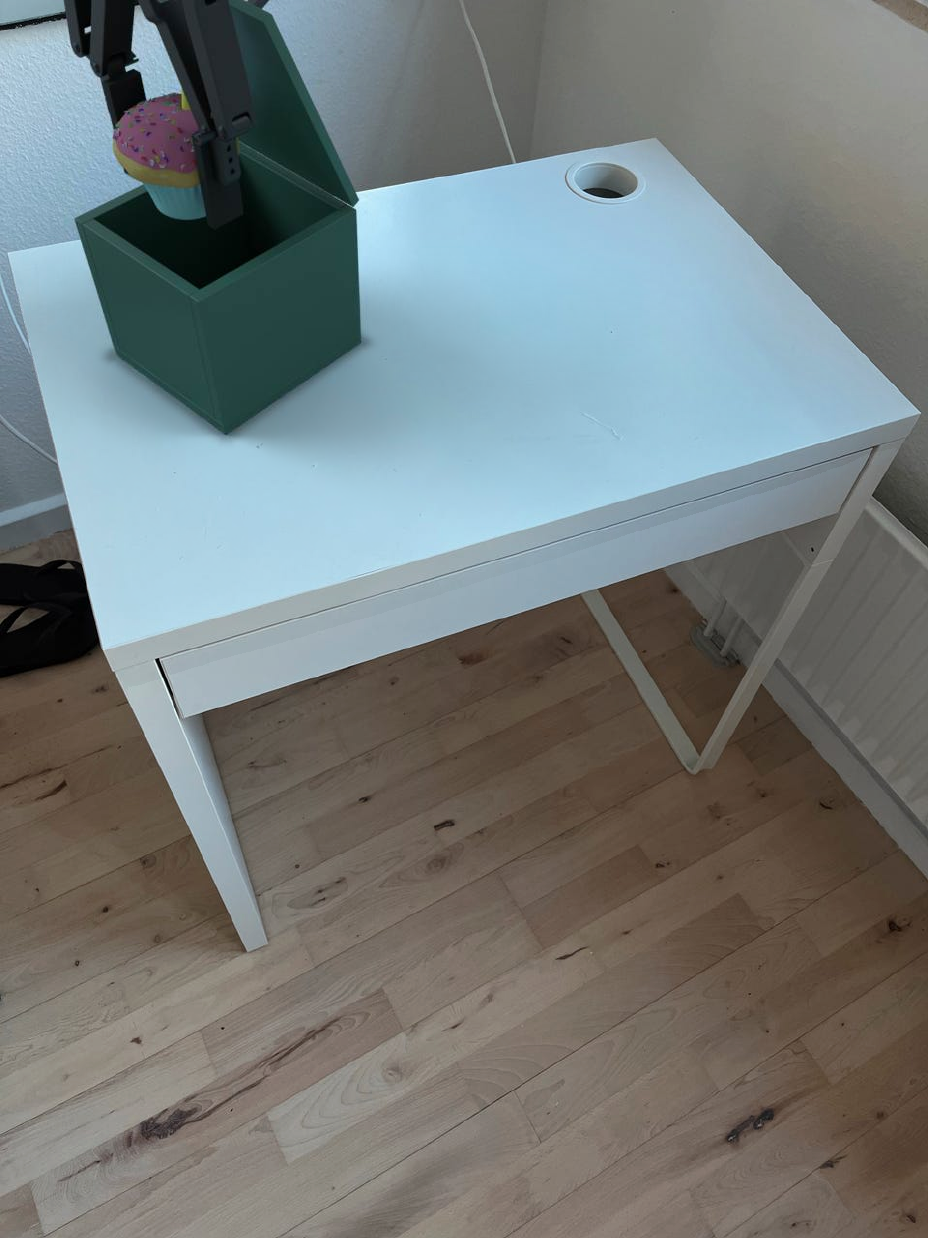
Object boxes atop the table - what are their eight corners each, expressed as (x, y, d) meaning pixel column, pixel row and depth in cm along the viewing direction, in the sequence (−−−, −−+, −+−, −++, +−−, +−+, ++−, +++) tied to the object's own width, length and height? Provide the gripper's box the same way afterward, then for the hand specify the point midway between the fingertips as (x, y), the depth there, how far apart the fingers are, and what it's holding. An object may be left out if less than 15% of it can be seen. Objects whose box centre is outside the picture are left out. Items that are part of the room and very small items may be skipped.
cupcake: (236, 164, 72) (210, -10, 62) (257, 228, 68) (234, 53, 58) (121, 177, 70) (76, 1, 60) (136, 244, 66) (90, 66, 56)
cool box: (225, 435, 77) (198, 301, 66) (116, 355, 81) (73, 217, 71) (361, 342, 84) (356, 209, 73) (254, 273, 89) (234, 138, 78)
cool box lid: (263, 23, 57) (350, -79, 58) (116, -53, 62) (198, -147, 62) (353, 207, 73) (420, 125, 74) (230, 136, 78) (295, 60, 78)
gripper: (296, -166, 48) (323, 233, 67) (40, -271, 55) (130, 117, 74) (181, -131, 44) (244, 280, 63) (-77, -247, 51) (49, 154, 70)
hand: (183, 192), depth 68 cm, fingers closed on cupcake, 8 cm apart
